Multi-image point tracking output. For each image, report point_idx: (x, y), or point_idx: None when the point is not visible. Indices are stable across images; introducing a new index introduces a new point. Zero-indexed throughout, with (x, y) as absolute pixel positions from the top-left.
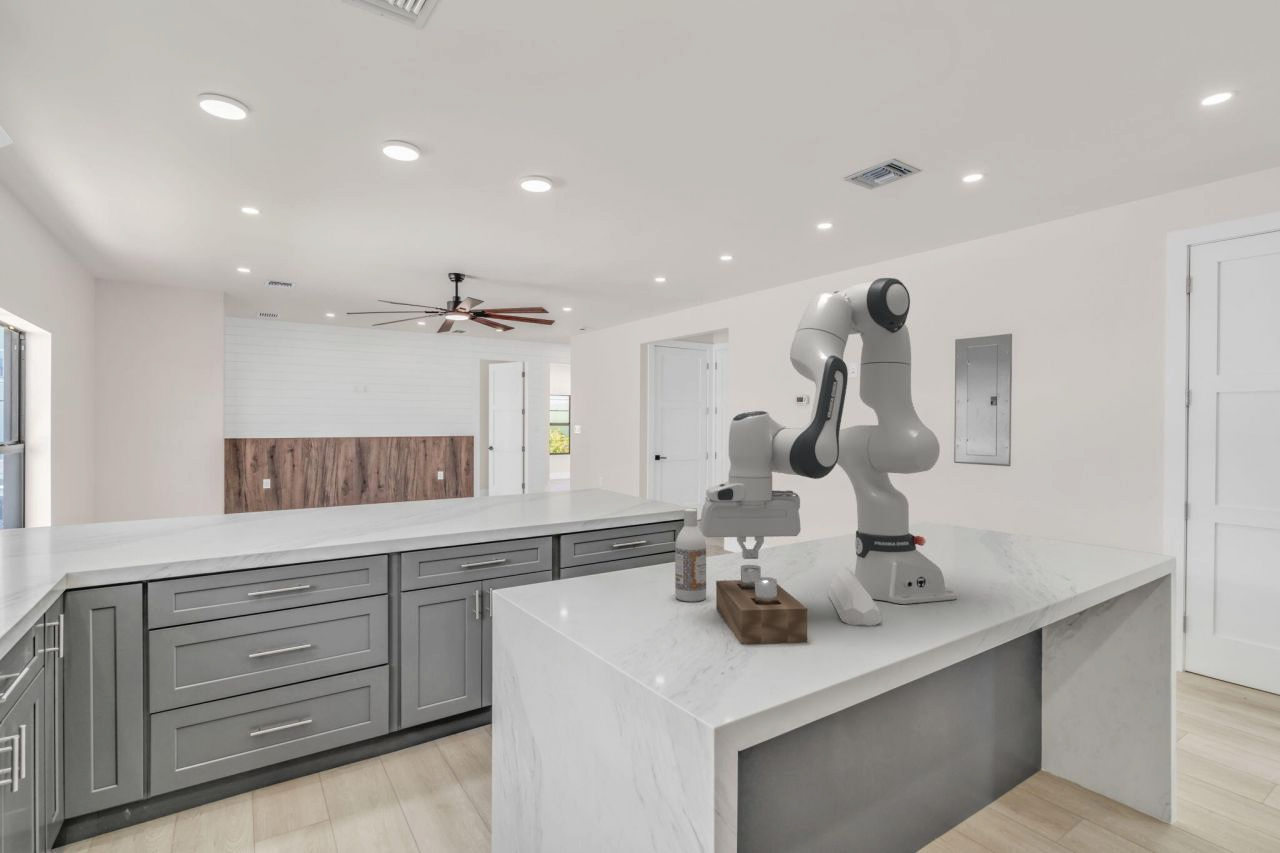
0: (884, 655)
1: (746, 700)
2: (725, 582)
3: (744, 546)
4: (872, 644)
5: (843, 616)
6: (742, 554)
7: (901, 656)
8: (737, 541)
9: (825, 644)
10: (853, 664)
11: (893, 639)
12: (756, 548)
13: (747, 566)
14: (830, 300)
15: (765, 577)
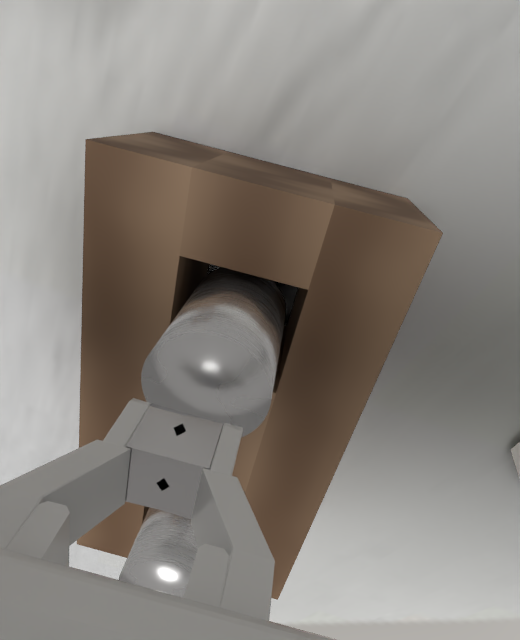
0: (393, 605)
1: None
2: (128, 204)
3: (79, 530)
4: (426, 567)
5: (516, 467)
6: (123, 413)
7: (421, 619)
8: (9, 487)
9: (319, 531)
10: (296, 605)
11: (509, 568)
12: (196, 538)
13: (189, 375)
14: None
15: (178, 571)
